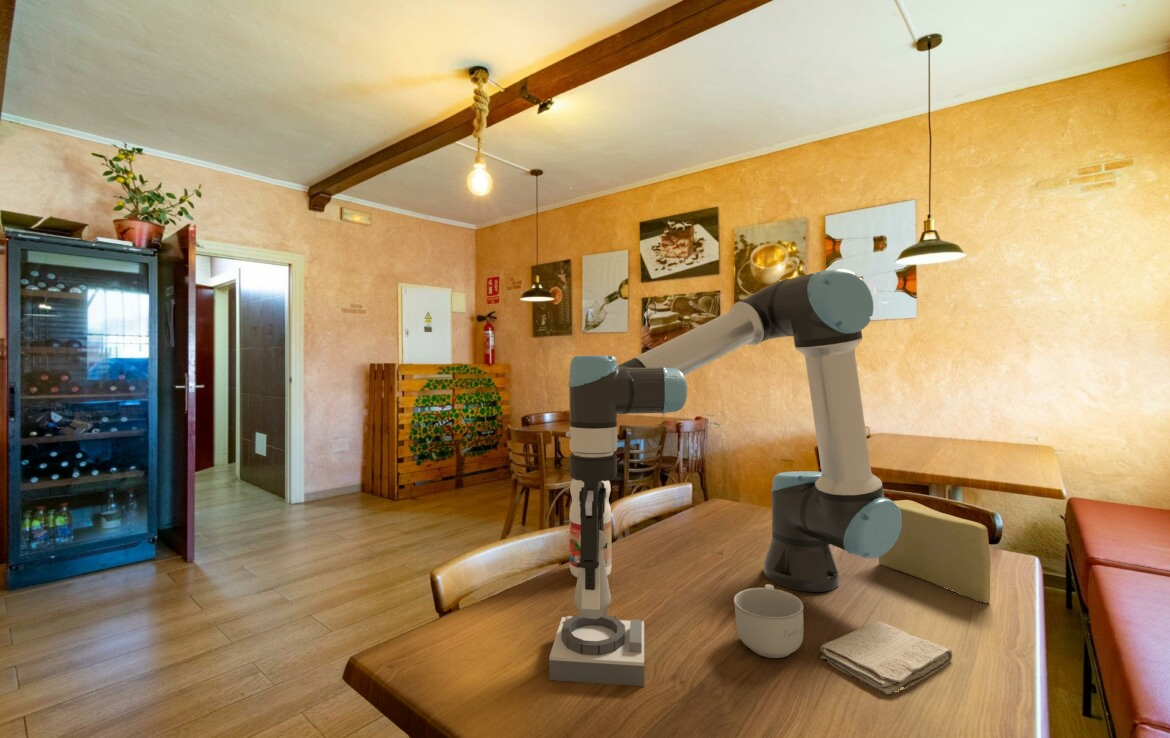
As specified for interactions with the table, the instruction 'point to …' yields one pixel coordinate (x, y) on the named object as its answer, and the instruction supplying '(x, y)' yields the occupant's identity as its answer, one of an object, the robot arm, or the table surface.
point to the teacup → (769, 621)
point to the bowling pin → (604, 586)
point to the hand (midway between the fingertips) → (592, 598)
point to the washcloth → (885, 657)
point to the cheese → (942, 550)
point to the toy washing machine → (598, 651)
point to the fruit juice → (576, 527)
